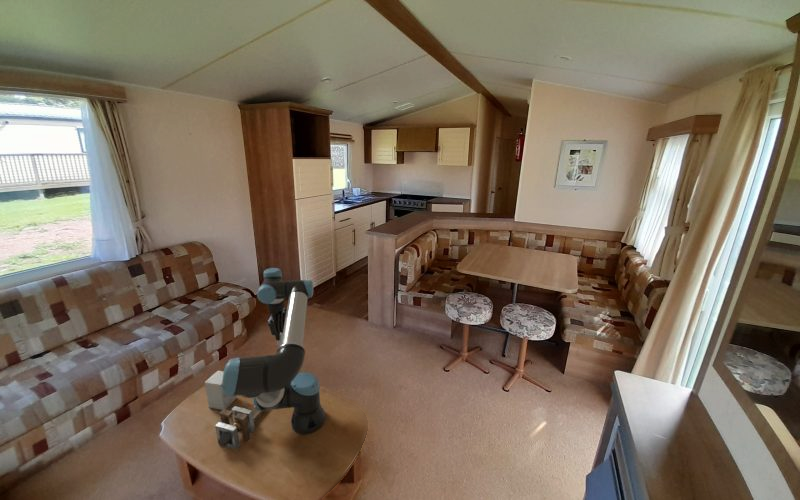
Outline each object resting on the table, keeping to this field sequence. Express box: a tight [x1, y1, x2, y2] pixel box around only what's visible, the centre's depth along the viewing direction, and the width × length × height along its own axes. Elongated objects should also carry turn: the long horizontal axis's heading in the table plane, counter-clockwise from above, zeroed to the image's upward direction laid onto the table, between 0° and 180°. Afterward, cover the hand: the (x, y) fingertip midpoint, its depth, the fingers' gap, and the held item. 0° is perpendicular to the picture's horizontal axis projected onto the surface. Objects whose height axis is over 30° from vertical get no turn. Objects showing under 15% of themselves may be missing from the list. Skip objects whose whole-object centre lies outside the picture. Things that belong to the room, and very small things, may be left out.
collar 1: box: [214, 421, 241, 451], centre depth 133 cm, size 9×2×10 cm, turn 75°
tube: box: [217, 413, 253, 448], centre depth 137 cm, size 16×4×4 cm, turn 165°
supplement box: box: [204, 370, 237, 411], centre depth 155 cm, size 9×9×15 cm
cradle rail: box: [252, 407, 266, 424], centre depth 152 cm, size 4×15×3 cm, turn 165°
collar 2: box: [230, 405, 256, 434], centre depth 141 cm, size 9×2×10 cm, turn 75°
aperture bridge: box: [219, 408, 251, 443], centre depth 137 cm, size 12×2×12 cm, turn 75°
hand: (280, 344), depth 155 cm, fingers closed
